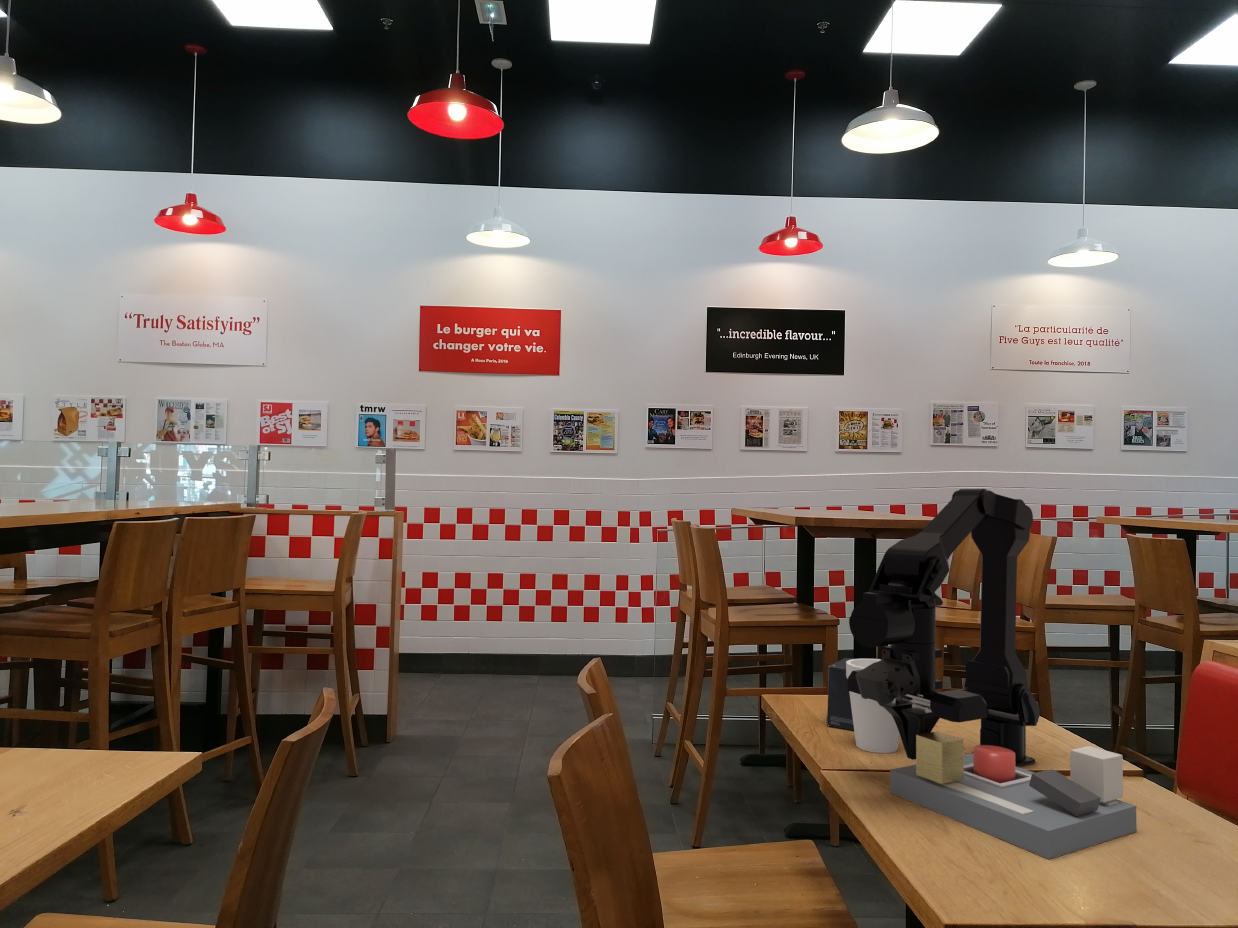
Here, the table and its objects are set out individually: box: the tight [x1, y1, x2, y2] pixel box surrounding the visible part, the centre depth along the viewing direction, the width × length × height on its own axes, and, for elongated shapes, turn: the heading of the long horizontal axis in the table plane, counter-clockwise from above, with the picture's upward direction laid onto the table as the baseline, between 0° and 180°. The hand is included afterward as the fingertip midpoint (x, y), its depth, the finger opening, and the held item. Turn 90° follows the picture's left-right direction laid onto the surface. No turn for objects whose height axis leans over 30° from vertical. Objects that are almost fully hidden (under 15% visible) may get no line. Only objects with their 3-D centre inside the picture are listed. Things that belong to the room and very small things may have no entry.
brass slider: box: [915, 730, 965, 784], centre depth 101 cm, size 4×4×5 cm
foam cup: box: [846, 658, 901, 754], centre depth 125 cm, size 10×9×13 cm
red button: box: [972, 744, 1015, 783], centre depth 103 cm, size 5×5×6 cm
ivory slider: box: [1069, 745, 1124, 802], centre depth 96 cm, size 4×4×5 cm
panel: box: [889, 753, 1138, 860], centre depth 99 cm, size 17×22×3 cm
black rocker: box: [1029, 768, 1101, 816], centre depth 92 cm, size 4×6×2 cm, turn 29°
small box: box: [826, 657, 854, 731], centre depth 139 cm, size 11×6×10 cm, turn 148°
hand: (912, 758), depth 104 cm, fingers closed
